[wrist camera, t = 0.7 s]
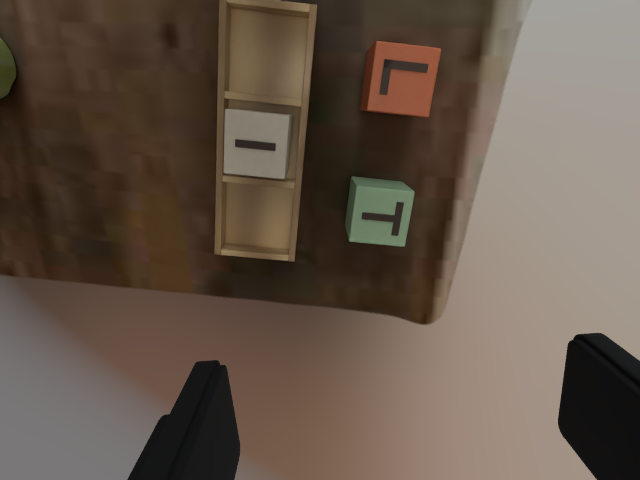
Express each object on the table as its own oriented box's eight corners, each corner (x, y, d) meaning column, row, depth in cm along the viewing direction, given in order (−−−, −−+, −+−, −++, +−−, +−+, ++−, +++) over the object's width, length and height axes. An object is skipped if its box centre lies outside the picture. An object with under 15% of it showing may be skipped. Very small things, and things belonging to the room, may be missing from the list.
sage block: (344, 225, 38) (349, 242, 34) (350, 176, 37) (356, 186, 32) (393, 230, 39) (405, 247, 34) (402, 181, 37) (415, 191, 32)
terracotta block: (359, 110, 35) (366, 110, 30) (367, 50, 33) (376, 39, 28) (413, 116, 35) (429, 117, 30) (423, 57, 34) (442, 47, 29)
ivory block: (235, 165, 36) (222, 173, 31) (236, 108, 34) (224, 108, 29) (288, 170, 36) (284, 179, 31) (292, 115, 34) (289, 115, 30)
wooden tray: (219, 246, 39) (214, 254, 37) (225, 0, 32) (219, -8, 30) (295, 253, 39) (294, 261, 37) (317, 11, 32) (317, 4, 30)
